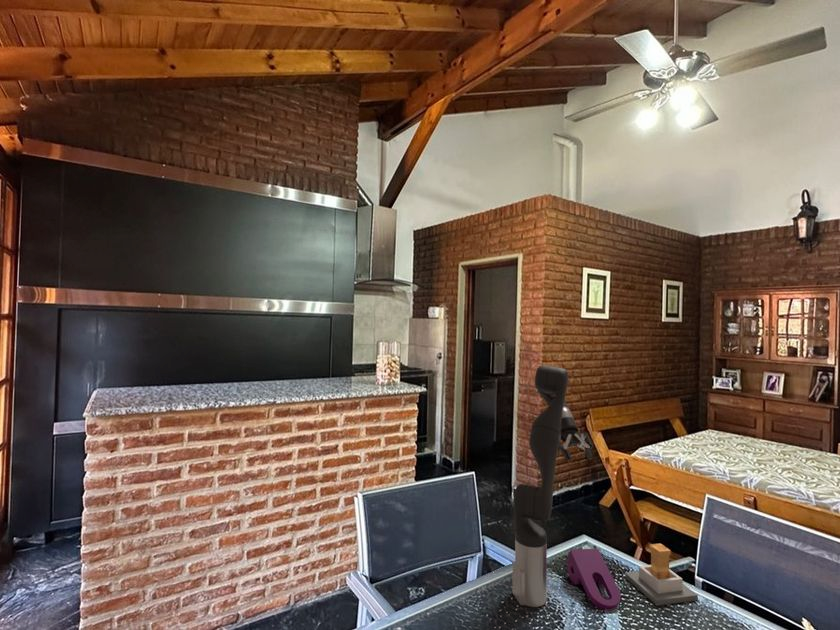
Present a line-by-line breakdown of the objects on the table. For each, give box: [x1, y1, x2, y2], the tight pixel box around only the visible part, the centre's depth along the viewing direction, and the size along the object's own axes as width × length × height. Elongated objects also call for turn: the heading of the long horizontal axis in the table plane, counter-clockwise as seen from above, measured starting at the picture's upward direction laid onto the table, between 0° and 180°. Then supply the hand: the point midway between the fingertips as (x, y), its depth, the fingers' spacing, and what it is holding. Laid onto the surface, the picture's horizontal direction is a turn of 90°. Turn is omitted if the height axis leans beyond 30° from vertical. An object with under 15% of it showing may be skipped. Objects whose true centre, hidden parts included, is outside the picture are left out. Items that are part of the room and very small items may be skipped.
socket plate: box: [625, 564, 699, 606], centre depth 135 cm, size 14×14×5 cm
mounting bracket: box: [566, 547, 621, 611], centre depth 134 cm, size 9×8×18 cm
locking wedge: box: [648, 542, 672, 579], centre depth 136 cm, size 4×4×11 cm
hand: (580, 459), depth 159 cm, fingers open, 8 cm apart
